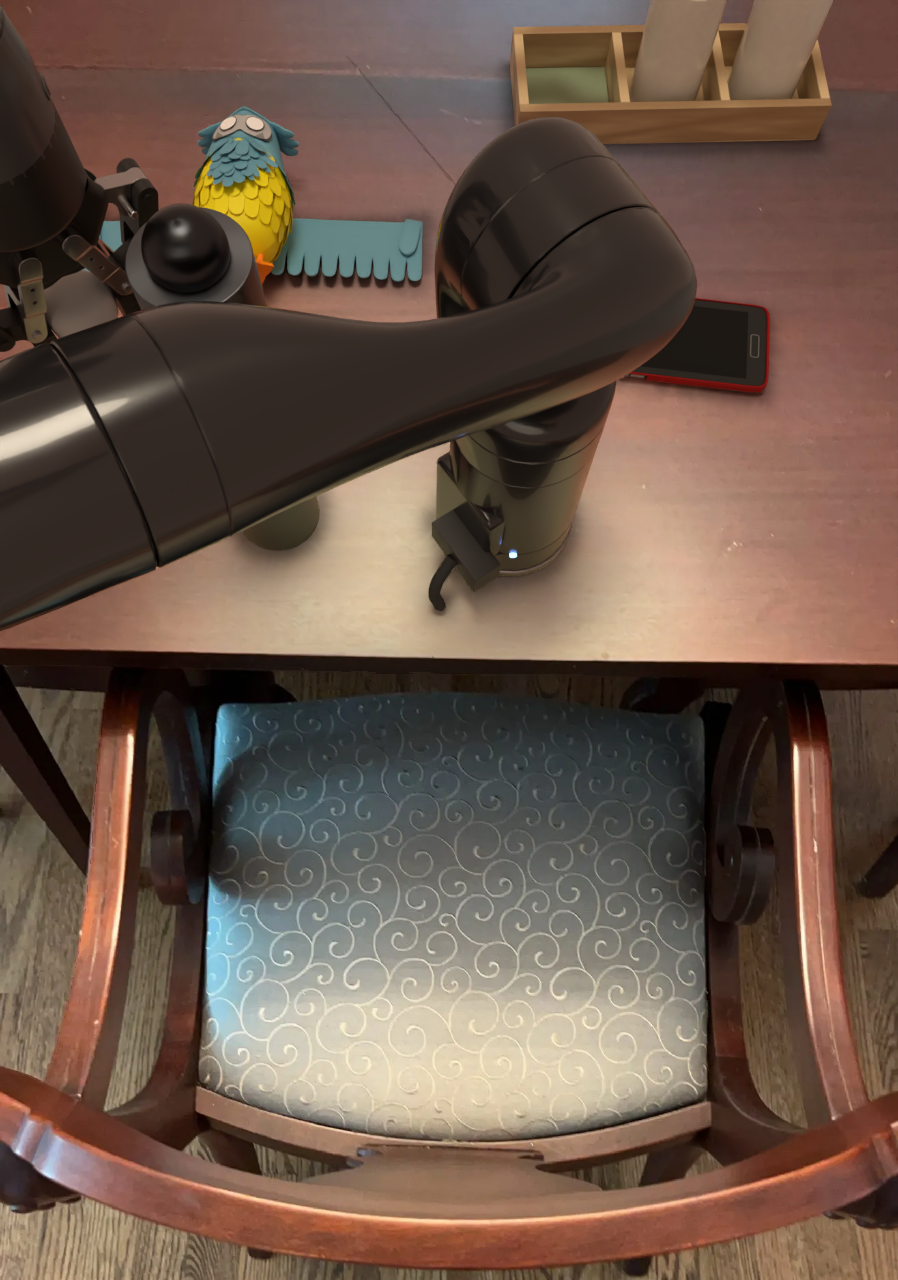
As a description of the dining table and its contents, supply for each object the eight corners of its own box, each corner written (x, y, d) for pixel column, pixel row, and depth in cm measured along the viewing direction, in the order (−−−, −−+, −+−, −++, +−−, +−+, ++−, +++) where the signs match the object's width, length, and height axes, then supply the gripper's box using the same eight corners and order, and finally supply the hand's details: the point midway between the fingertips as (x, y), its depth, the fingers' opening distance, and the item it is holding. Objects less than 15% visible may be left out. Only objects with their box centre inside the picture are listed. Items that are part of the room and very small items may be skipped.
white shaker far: (751, 134, 82) (808, -9, 70) (709, 91, 84) (757, -57, 71) (802, 105, 83) (867, -40, 71) (759, 63, 85) (815, -87, 72)
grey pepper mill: (265, 565, 70) (148, 298, 41) (224, 503, 72) (82, 204, 42) (334, 523, 71) (268, 235, 42) (292, 463, 73) (199, 145, 44)
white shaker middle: (655, 136, 82) (695, -7, 70) (614, 93, 84) (646, -55, 71) (707, 107, 83) (755, -39, 71) (666, 65, 85) (706, -86, 72)
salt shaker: (91, 385, 69) (13, 263, 56) (169, 365, 69) (109, 240, 57) (107, 455, 67) (31, 345, 54) (187, 433, 67) (129, 320, 55)
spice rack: (813, 144, 83) (832, 105, 79) (515, 150, 82) (520, 111, 78) (796, 63, 86) (814, 21, 82) (509, 68, 85) (512, 26, 81)
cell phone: (765, 396, 75) (769, 389, 74) (579, 374, 75) (581, 367, 74) (767, 313, 77) (771, 305, 76) (587, 292, 78) (589, 284, 77)
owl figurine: (29, 242, 68) (55, 81, 73) (72, 320, 76) (93, 171, 81) (422, 243, 68) (421, 84, 73) (423, 321, 77) (422, 173, 81)
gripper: (70, 2, 46) (168, 247, 62) (-209, 135, 43) (-31, 353, 60) (147, 104, 44) (227, 328, 60) (-140, 248, 42) (24, 442, 58)
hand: (98, 340), depth 60 cm, fingers closed on salt shaker, 4 cm apart
